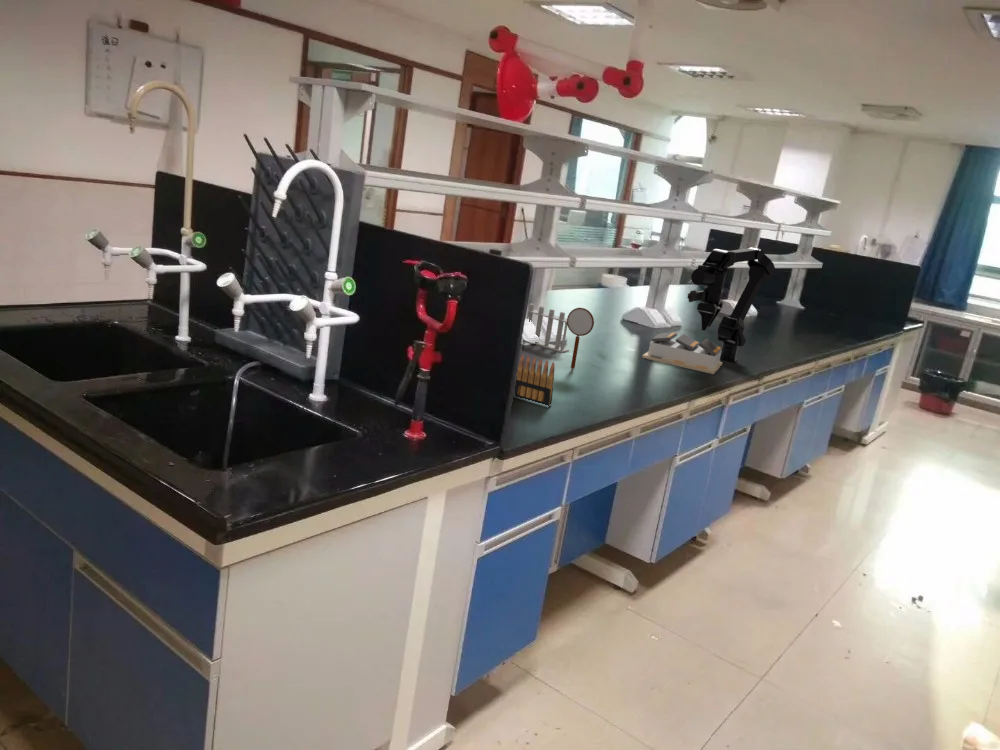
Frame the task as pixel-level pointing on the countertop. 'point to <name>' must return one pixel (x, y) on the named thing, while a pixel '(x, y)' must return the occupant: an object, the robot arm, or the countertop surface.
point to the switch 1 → (664, 337)
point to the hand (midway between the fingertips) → (705, 328)
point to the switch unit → (683, 356)
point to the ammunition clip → (535, 381)
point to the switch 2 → (710, 347)
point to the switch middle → (687, 342)
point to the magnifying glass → (579, 327)
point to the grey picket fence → (549, 328)
